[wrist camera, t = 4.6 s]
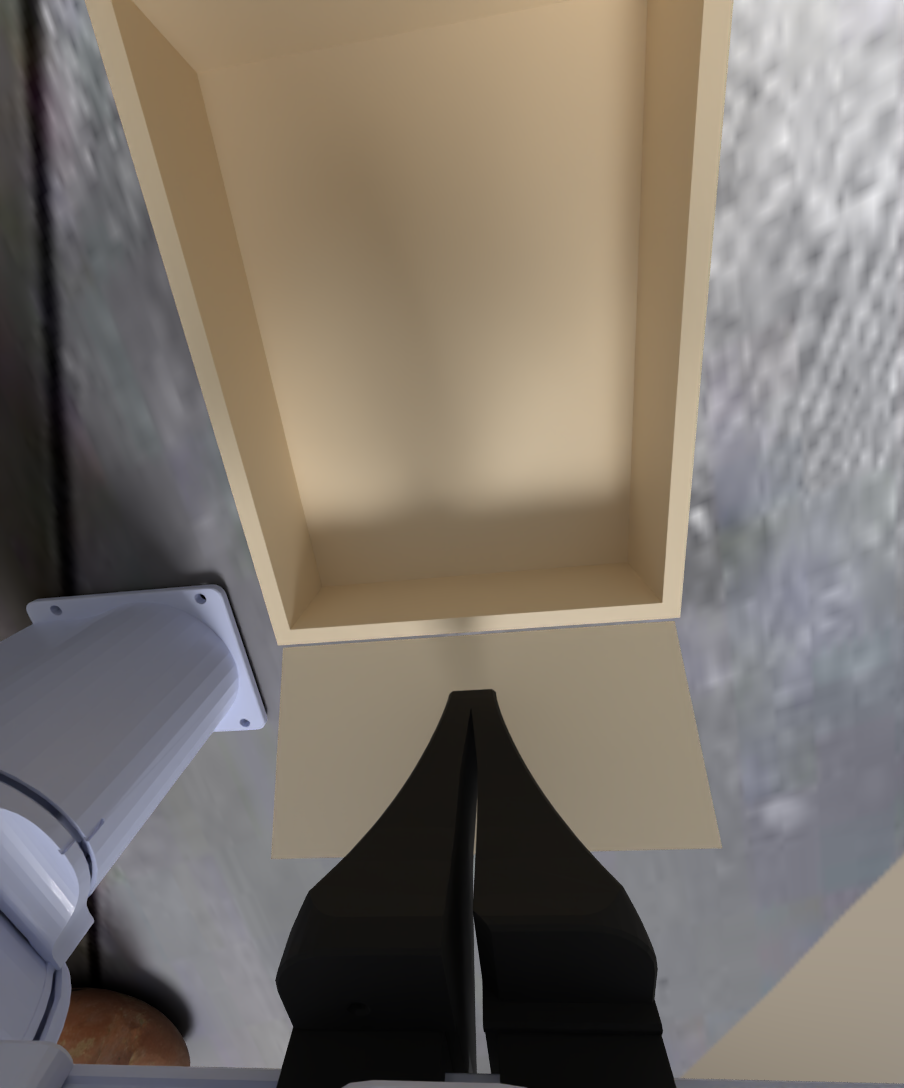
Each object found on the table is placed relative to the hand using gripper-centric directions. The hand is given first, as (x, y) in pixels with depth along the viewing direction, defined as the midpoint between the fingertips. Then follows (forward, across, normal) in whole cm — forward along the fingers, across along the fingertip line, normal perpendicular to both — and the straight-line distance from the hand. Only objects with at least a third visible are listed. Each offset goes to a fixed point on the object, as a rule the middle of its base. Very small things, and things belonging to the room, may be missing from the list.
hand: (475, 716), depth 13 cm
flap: (0, 0, +1) cm, 1 cm away
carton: (+6, 0, -10) cm, 12 cm away
